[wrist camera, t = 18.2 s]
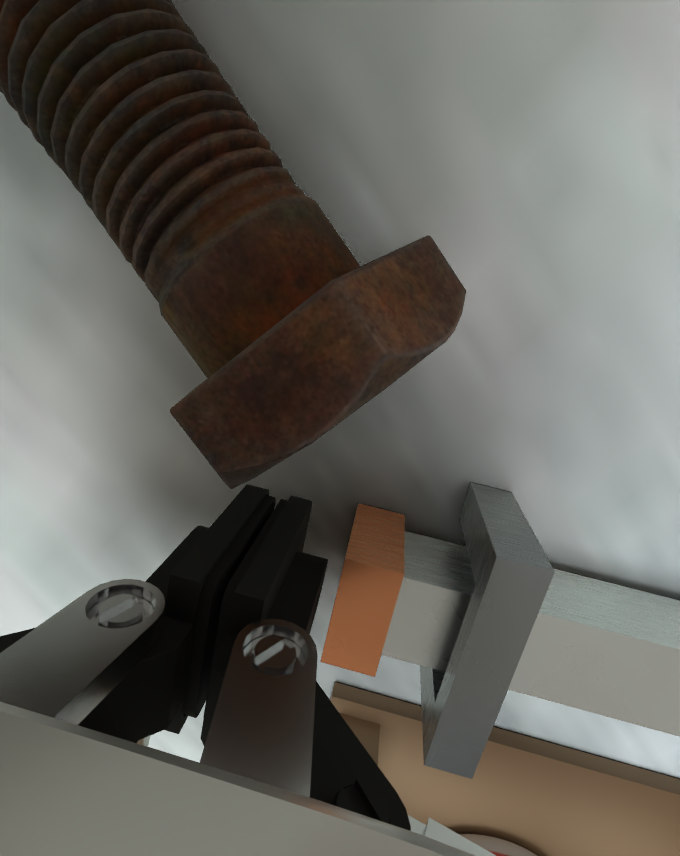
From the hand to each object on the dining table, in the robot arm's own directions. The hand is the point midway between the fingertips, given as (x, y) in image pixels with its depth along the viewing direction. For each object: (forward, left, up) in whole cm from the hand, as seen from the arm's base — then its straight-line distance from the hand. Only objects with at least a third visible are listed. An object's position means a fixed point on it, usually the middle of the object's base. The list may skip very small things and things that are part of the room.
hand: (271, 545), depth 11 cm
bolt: (-9, -4, -1) cm, 10 cm away
